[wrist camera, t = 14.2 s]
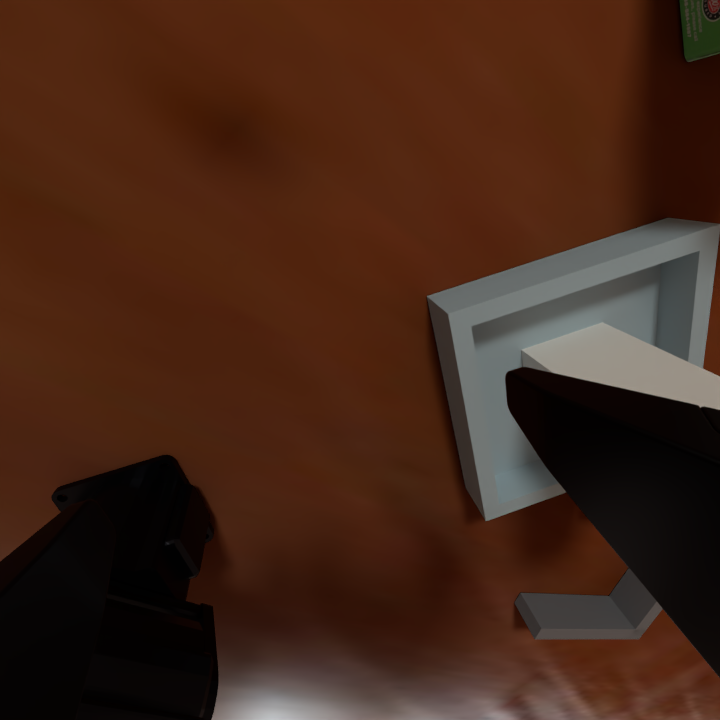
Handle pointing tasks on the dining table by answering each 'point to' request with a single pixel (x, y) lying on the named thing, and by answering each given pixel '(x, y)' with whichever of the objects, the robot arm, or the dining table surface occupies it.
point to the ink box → (700, 28)
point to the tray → (557, 318)
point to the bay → (591, 613)
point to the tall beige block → (624, 365)
